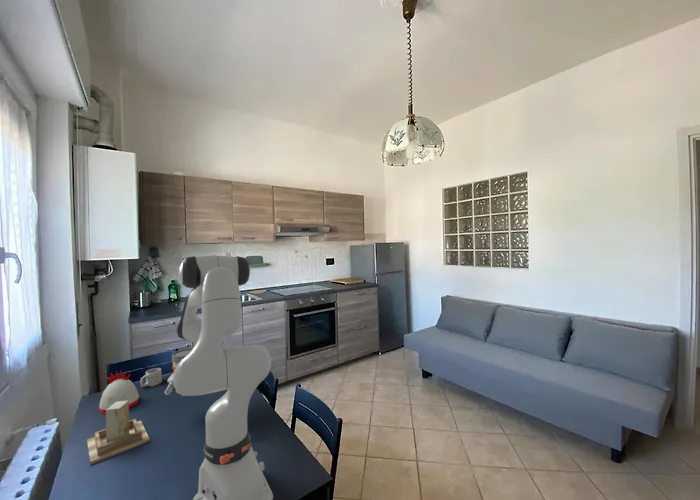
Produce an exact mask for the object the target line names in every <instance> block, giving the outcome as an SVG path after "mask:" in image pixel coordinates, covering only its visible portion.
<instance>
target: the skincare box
mask: <svg viewBox="0 0 700 500" xmlns="http://www.w3.org/2000/svg"><path fill="white" fill-rule="evenodd" d="M129 420H130V408H129V401H118V402H115V403H114V404H113V405H111V406H110V407H109V408H108V409H106V414H105V429H106V443H109V442H112V441H114V440H117V439H120V438H122V437H125V436H127V435H128V434H129Z"/></svg>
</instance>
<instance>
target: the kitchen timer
mask: <svg viewBox="0 0 700 500" xmlns="http://www.w3.org/2000/svg"><path fill="white" fill-rule="evenodd" d="M126 374H127V372H124V374H123V372H122V370H120V372H119V374H118V371H116V372H115V376H114V374H113V373H112V372H111V373H110V377H109V376H106V379H107V381H108V382H109V384H108V385H107V386H106V388H105V389H104V390H103V391H102V393H101V394H102V395H101V398H100V401H99V407H98V410H99V413H101V414H105V415H106V409H108V408H109V407H110V406H111V405H113V404H114V403H115V402H118V401H129V409H131V408H133V407H134V406H135V405H137V404H138V403H139V401H140V395H139V391H138V390H137V387H136V385H135V384H134V383H133V381H132V380H129V378H130V376H131V374H130V373H129V374H128V376H126Z"/></svg>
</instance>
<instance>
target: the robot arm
mask: <svg viewBox="0 0 700 500" xmlns="http://www.w3.org/2000/svg"><path fill="white" fill-rule="evenodd" d="M250 276H251V266H250V263H249V261H248V259H246V257H243V256H238V255H235V256H229V255H216V254H215V255H213V254H211V255H201V256H196V255H195V256H189V257H185V258H184V259H183V260H182V261H181V264H180V265H179V267H178V278H179V280H180V282H181V284H182V286H184V287H185V288H189V289H191V290H190V291H189V292H188V294H187V295H186V297H185V299H184V303H183V309H182V312H181V315H180V320H179V322H178V324H177V325H176V334H177V337H178V338H179V339H181V340H184V341H188V342H190V343H193V344H195V345H194V346H193V347H192V348H191V349H192V350H191V351H190V353H189V354H188V355H187V356H186V357H184V358H183V359H182V360H181V361H180V362H179V363H178V365H177V366H176V368H175V371H174V372H173V373H172V374H171V375H170V376H169V377H168V378H167V383H168V386H167V388H166V389H165V390H164V392H163V393H164V394H165V396H166V395H168V396H169V395H171V393H172V392H173V389H175V393H177V394H179V395H180V396H182V397H192V396H193V397H195V396H203V395H208V394H212V393H213V394H214V393H217V392H218V393H219V392H221V391H226V390H227V391H226V392H225V393H224V394H223V395H222V396H221V397H220V398H219V399H217V400H216V401H214V402H213V404H212V405H210V407H209V409H208V410H207V411H206V414H205V417H204V419H205V420H204V421H205V439H204V443H203V451H204V452H203V453H204V459H203V461H202V463H201V465H200V467H199V470H198V490H197V491H198V492H197V493H196V494H195V495H194V497H193V499H192V500H273V499H274V494H273V492H272V490H271V487H270V485H269V483H268V482H267V479H266V476H265V475H264V472H263V471H265V462H264V461H259V462H258V460H257V457H258V452H257V451H254V449H253V446H252V441H251V435H250V432H249V429H248V412H249V404H250V401H251V398H252V396H253V394H254V392H255V391H256V389H257V388H258V386H259V385H260V384H261V383H262V382H263V381H264V379H266V378H267V377H268V375H269V374H270V371H271V368H272V358H271V354H270V352H269V351H268V349H267V348H266V347H265V346H263V345H243V346H242V345H241V346H238V347H237V346H236V347H231V348H226V349H225V348H223V346H224V345H225V344H226V341H227V338H230V337H231V336H232V335H234V334H235V333H237V332H238V331H239V330H240V329H241V327H242V325H243V313H242V300H241V291H240V287H241V286H243V285H246V284H247V283H248V281H249V280H250ZM199 308H201V318H200V317H199V316H198V315H197V312H198V309H199Z"/></svg>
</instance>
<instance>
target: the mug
mask: <svg viewBox="0 0 700 500" xmlns="http://www.w3.org/2000/svg"><path fill="white" fill-rule="evenodd" d="M144 379H145V383H144ZM162 380H163V379H162V368H161V367H155V368H151V369H148V370H146V371H145V374H144V375H143V376H142V377H141V378H140V382H139V383H140V387H142V388H143V387H149V386H150V387H156V386H158V385H160V384H161V383H162ZM159 383H160V384H159ZM157 384H158V385H157ZM155 385H156V386H155Z"/></svg>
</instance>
